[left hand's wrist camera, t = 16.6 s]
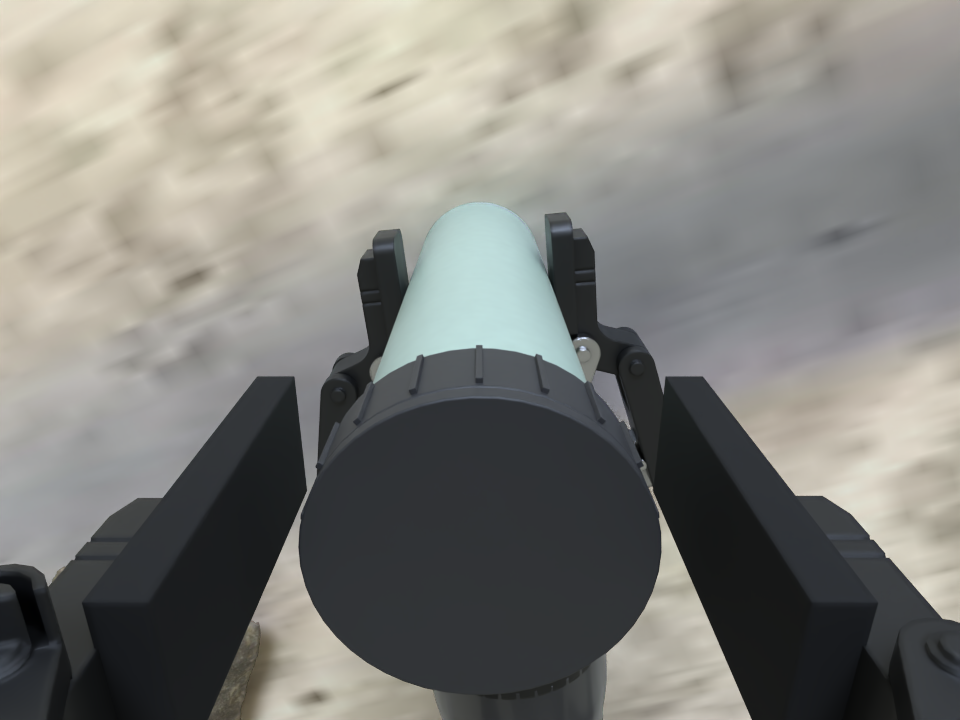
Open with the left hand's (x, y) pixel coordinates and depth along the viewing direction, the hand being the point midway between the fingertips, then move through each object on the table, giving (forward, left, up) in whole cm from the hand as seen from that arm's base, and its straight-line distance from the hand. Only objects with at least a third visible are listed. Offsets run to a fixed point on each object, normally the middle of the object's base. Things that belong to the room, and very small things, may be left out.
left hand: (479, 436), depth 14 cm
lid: (0, 0, +4) cm, 4 cm away
